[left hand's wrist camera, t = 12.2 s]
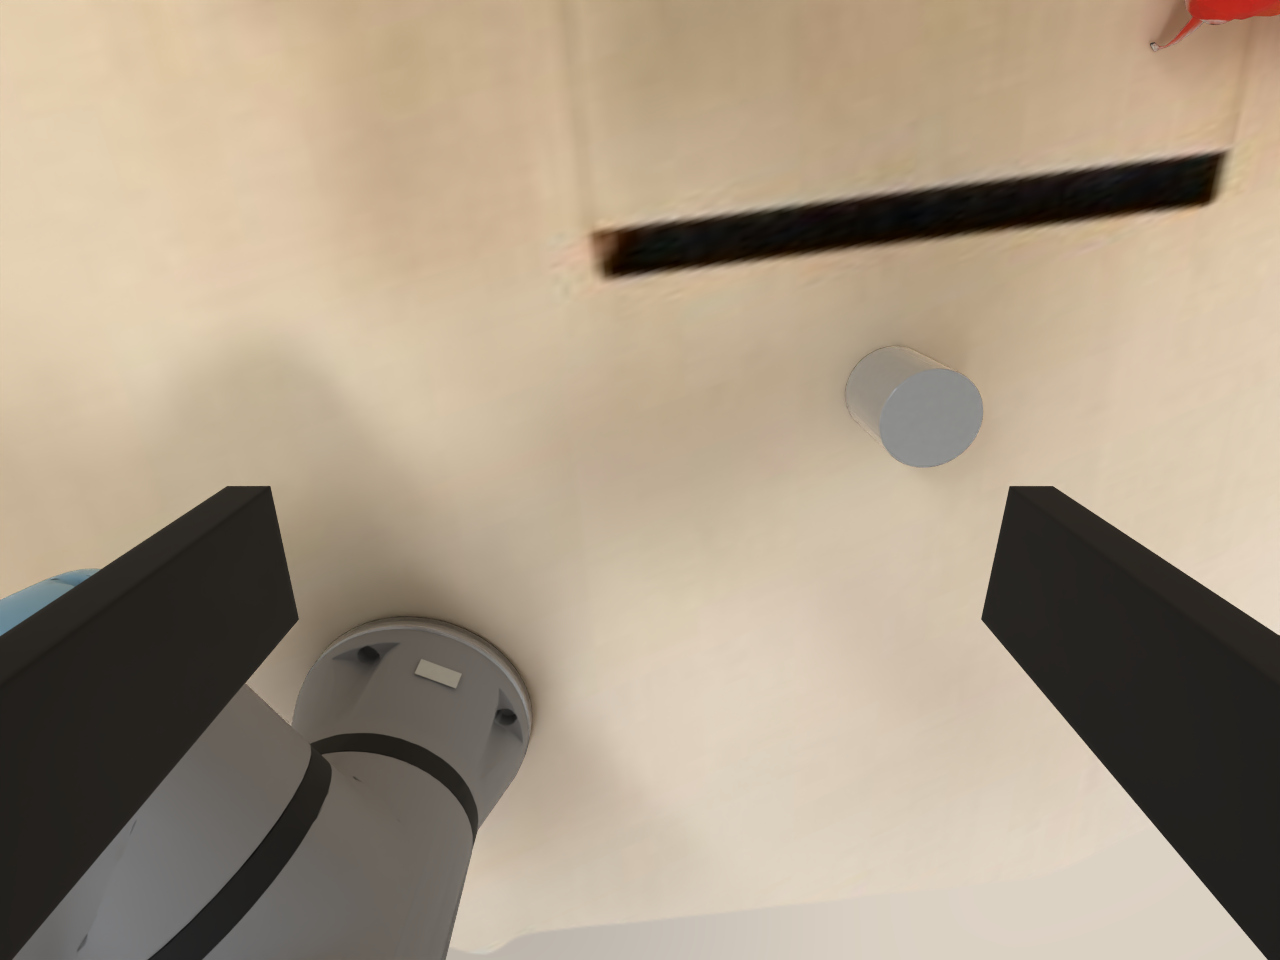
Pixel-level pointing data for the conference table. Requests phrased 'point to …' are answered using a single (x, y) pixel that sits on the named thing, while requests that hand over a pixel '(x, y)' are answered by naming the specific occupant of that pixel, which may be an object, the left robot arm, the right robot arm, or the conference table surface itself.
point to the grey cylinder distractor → (914, 406)
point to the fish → (1221, 14)
